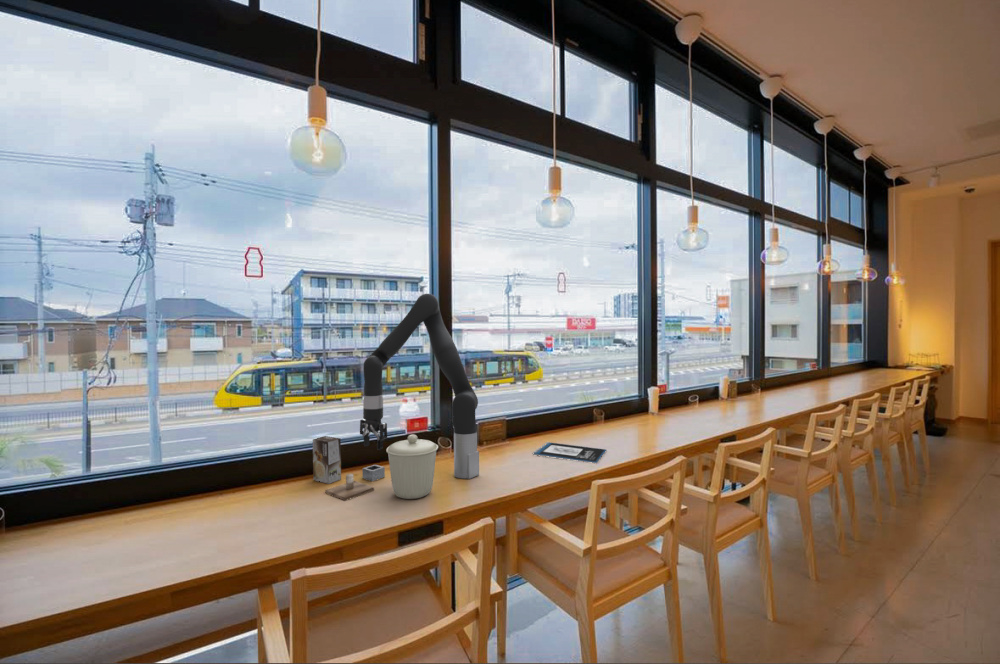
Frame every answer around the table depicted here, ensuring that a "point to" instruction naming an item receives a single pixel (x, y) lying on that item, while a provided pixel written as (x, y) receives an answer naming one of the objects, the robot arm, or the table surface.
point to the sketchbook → (570, 452)
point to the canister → (412, 467)
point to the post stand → (349, 489)
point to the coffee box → (327, 459)
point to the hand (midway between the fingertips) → (373, 447)
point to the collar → (373, 472)
